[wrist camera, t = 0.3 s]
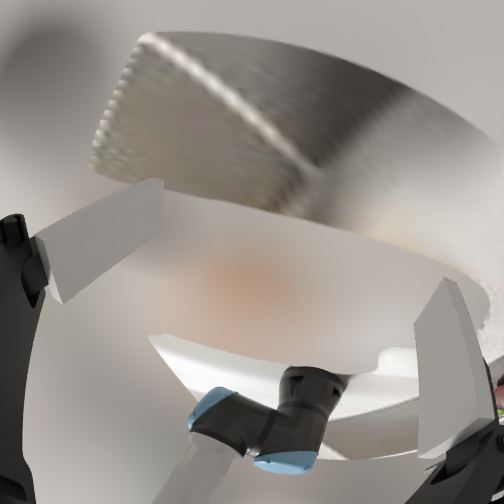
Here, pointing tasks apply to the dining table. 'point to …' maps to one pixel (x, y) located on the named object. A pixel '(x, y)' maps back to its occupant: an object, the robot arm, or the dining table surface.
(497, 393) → the decorative fruit
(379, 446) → the dining table surface
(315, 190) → the dining table surface
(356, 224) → the dining table surface
